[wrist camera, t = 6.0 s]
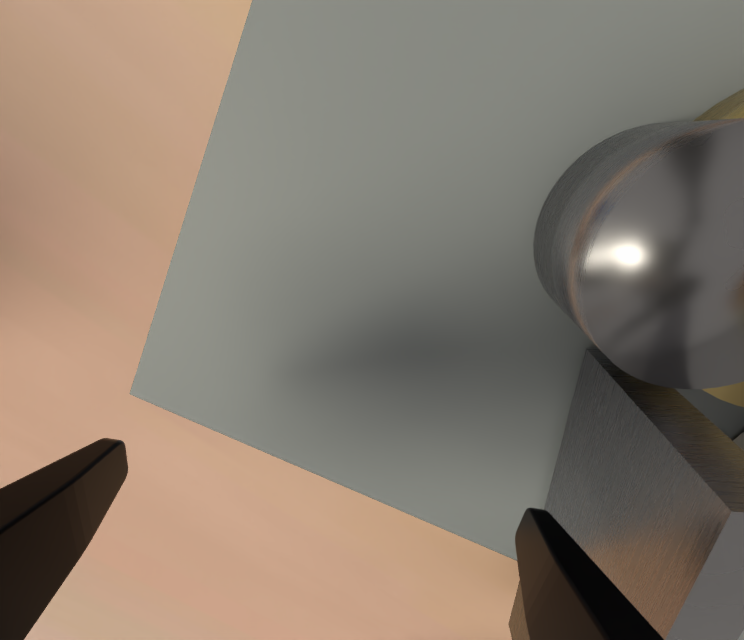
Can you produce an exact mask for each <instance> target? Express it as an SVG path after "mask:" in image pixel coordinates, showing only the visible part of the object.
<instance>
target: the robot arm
mask: <svg viewBox="0 0 744 640" xmlns="http://www.w3.org/2000/svg"><path fill="white" fill-rule="evenodd" d="M127 473H128V463H127V455H126V448H125V444H124V442H123V441H121V440H116V439H109V438H103V439H100V440H98V441H96V442H94V443H92V444H90V445H88V446H86V447H84V448H82V449H80V450H78V451H76V452H74V453H72V454H70V455H68V456H66V457H64V458H62V459H59V460H57V461H55V462H53V463H51V464H49V465H47V466H45V467H43V468H41V469H39V470H37V471H35V472H33V473H31V474H29V475H27V476H25V477H23V478H21V479H19V480H17V481H15V482H13V483H11V484H9V485H7V486H5V487H3V488H1V489H0V640H24V639H25V637H26V636H27V634H28V633H29V631H30V630H31V629H32V627H33V626H34V624H35V623H36V621H37V620H38V618H39V617H40V615H41V614H42V613H43V611H44V610H45V608H46V607H47V605H48V604H49V602H50V601H51V599H52V598H53V597H54V595H55V594H56V592H57V591H58V589H59V588H60V586H61V585H62V583H63V582H64V581H65V579H66V578H67V576H68V575H69V573H70V572H71V570H72V569H73V567H74V566H75V565H76V563H77V562H78V560H79V559H80V557H81V556H82V554H83V553H84V551H85V550H86V548H87V546H88V545H89V543H90V541H91V540H92V538H93V536H94V534H95V533H96V531H97V529H98V527H99V526H100V524H101V522H102V520H103V518H104V517H105V515H106V513H107V511H108V509H109V508H110V506H111V504H112V502H113V500H114V499H115V497H116V495H117V493H118V491H119V490H120V488H121V486H122V484H123V482H124V481H125V479H126V476H127ZM515 546H516V554H517V562H518V569H519V577H520V585H521V592H522V600H523V607H524V614H525V620H526V625H527V629H528V634H529V638H530V640H664V639H663V638H662V637H661V636H660V634H659V633H658V632H657V631H656V630H655V629H654V628H653V627H652V626H651V624H650V623H649V622H648V621H647V620H646V619H645V618H644V617H643V616H642V615H641V613H640V612H639V611H638V610H637V609H636V608H635V607H634V606H633V605H632V603H631V602H630V601H629V600H628V599H627V598H626V597H625V596H624V595H623V594H622V592H621V591H620V590H619V589H618V588H617V587H616V586H615V585H614V584H613V582H612V581H611V580H610V579H609V578H608V577H607V576H606V575H605V574H604V573H603V571H602V570H601V569H600V568H599V567H598V566H597V565H596V564H595V563H594V561H593V560H592V559H591V558H590V557H589V556H588V555H587V554H586V553H585V552H584V550H583V549H582V548H581V547H580V546H579V545H578V544H577V543H576V542H575V540H574V539H573V538H572V537H571V536H570V535H569V534H568V533H567V532H566V531H565V529H564V528H563V527H562V526H561V525H560V524H559V523H558V522H557V521H556V519H555V518H554V517H553V516H552V515H551V514H550V513H549V512H548V511H546V510H543V509H537V508H531V507H530V508H527V509H526V511H525V512H524V515H523V517H522V519H521V521H520V524H519V526H518V528H517V531H516V534H515Z"/></svg>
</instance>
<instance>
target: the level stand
mask: <svg viewBox="0 0 744 640" xmlns="http://www.w3.org/2000/svg"><path fill="white" fill-rule="evenodd" d="M741 89H744V0H252V3H251V7H250V10H249V13H248V16H247V20H246V23H245V26H244V29H243V32H242V36H241V39H240V42H239V45H238V48H237V52H236V55H235V58H234V61H233V64H232V68H231V71H230V74H229V77H228V80H227V84H226V87H225V90H224V93H223V96H222V100H221V103H220V106H219V109H218V112H217V116H216V119H215V122H214V125H213V128H212V132H211V135H210V138H209V141H208V144H207V148H206V151H205V154H204V157H203V160H202V164H201V167H200V170H199V173H198V177H197V180H196V183H195V186H194V189H193V193H192V196H191V199H190V202H189V205H188V209H187V212H186V215H185V218H184V221H183V225H182V228H181V231H180V234H179V237H178V241H177V244H176V247H175V250H174V253H173V257H172V260H171V263H170V266H169V269H168V273H167V276H166V279H165V282H164V285H163V289H162V292H161V295H160V298H159V301H158V305H157V308H156V311H155V314H154V318H153V321H152V324H151V327H150V330H149V334H148V337H147V340H146V343H145V346H144V350H143V353H142V356H141V359H140V362H139V366H138V369H137V372H136V375H135V378H134V382H133V385H132V388H131V391H130V395H133V396H135V397H137V398H140V399H142V400H144V401H147V402H149V403H151V404H154V405H156V406H158V407H161V408H163V409H165V410H168V411H170V412H172V413H175V414H177V415H179V416H182V417H184V418H186V419H189V420H191V421H193V422H196V423H198V424H200V425H203V426H205V427H207V428H210V429H212V430H214V431H217V432H219V433H221V434H223V435H226V436H228V437H230V438H233V439H235V440H237V441H240V442H242V443H244V444H247V445H249V446H251V447H254V448H256V449H258V450H261V451H263V452H265V453H268V454H270V455H272V456H275V457H277V458H279V459H282V460H284V461H286V462H289V463H291V464H293V465H296V466H298V467H300V468H303V469H305V470H307V471H310V472H312V473H314V474H317V475H319V476H321V477H324V478H326V479H328V480H330V481H333V482H335V483H337V484H340V485H342V486H344V487H347V488H349V489H351V490H354V491H356V492H358V493H361V494H363V495H365V496H368V497H370V498H372V499H375V500H377V501H379V502H382V503H384V504H386V505H389V506H391V507H393V508H396V509H398V510H400V511H403V512H405V513H407V514H410V515H412V516H414V517H417V518H419V519H421V520H424V521H426V522H428V523H430V524H433V525H435V526H437V527H440V528H442V529H444V530H447V531H449V532H451V533H454V534H456V535H458V536H461V537H463V538H465V539H468V540H470V541H472V542H475V543H477V544H479V545H482V546H484V547H486V548H489V549H491V550H493V551H496V552H498V553H500V554H503V555H505V556H507V557H510V558H512V559H514V560H517V554H516V546H515V534H516V531H517V528H518V526H519V524H520V521H521V519H522V517H523V515H524V512H525V511H526V509H527V508H530V507H531V508H537V509H543V510H544V507H545V503H546V499H547V495H548V491H549V488H550V484H551V480H552V476H553V472H554V468H555V464H556V461H557V457H558V453H559V449H560V445H561V441H562V438H563V434H564V430H565V426H566V422H567V418H568V414H569V411H570V407H571V403H572V399H573V395H574V391H575V388H576V384H577V380H578V376H579V372H580V368H581V365H582V361H583V357H584V353H585V349H586V348H592V349H599V348H598V347H597V346H596V345H595V344H594V343H593V342H592V341H591V340H590V339H589V338H588V337H587V336H586V335H585V334H584V332H583V331H582V330H581V329H580V328H579V327H578V326H577V325H576V324H575V323H574V322H573V321H572V320H571V319H570V318H569V317H568V316H567V315H566V314H565V313H564V312H563V310H562V309H561V308H560V307H559V306H558V305H557V304H556V303H555V302H554V301H553V300H552V299H551V298H550V296H549V295H548V294H547V292H546V291H545V290H544V288H543V286H542V284H541V282H540V280H539V277H538V274H537V271H536V268H535V262H534V253H533V242H534V233H535V228H536V224H537V220H538V217H539V214H540V212H541V209H542V206H543V204H544V202H545V200H546V198H547V196H548V194H549V193H550V191H551V189H552V188H553V187H554V185H555V184H556V182H557V181H558V179H559V178H560V177H561V176H562V175H563V173H564V172H565V171H566V170H567V169H568V167H570V166H571V165H572V164H573V163H574V162H575V161H576V160H577V159H578V158H579V157H580V156H581V155H583V154H584V153H585V152H587V151H588V150H589V149H591V148H592V147H593V146H595V145H597V144H598V143H600V142H602V141H603V140H605V139H607V138H609V137H611V136H613V135H615V134H618V133H620V132H622V131H625V130H628V129H632V128H635V127H638V126H643V125H649V124H657V123H673V122H689V121H693V120H695V119H696V118H697V117H699V116H700V115H702V114H703V113H704V112H706V111H707V110H708V109H710V108H711V107H713V106H714V105H715V104H717V103H719V102H720V101H722V100H724V99H726V98H727V97H729V96H731V95H732V94H734V93H736V92H738V91H739V90H741ZM675 389H676V388H675ZM676 390H677V391H678V392H679V393H680V394H681V395H682V396H683V397H685V398H686V399H687V400H688V401H689V402H690V403H691V404H692V405H693V406H695V407H696V408H697V409H698V410H699V411H700V412H701V413H702V414H703V415H704V416H706V417H707V418H708V419H709V420H710V421H711V422H712V423H713V424H714V425H716V426H717V427H718V428H719V429H720V430H721V431H722V432H723V433H724V434H725V435H727V436H728V437H729V438H730V439H731V440H732V441H733V440H734V439H735V438H737V437H738V436H739V435H740V434H741V433H742V432H744V407H741V406H737V405H734V404H731V403H729V402H726V401H723V400H720V399H718V398H716V397H715V396H713V395H711V394H709V393H707V392H705V391H704V390H702V389H676ZM738 640H744V631H743V632H742V634H741V635H740V637H739V638H738Z"/></svg>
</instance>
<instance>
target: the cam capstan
mask: <svg viewBox="0 0 744 640" xmlns="http://www.w3.org/2000/svg"><path fill="white" fill-rule="evenodd" d="M533 253H534V262H535V268H536V271H537V274H538V277H539V280H540V282H541V284H542V286H543V288H544V290H545V291H546V292H547V294H548V295H549V296H550V298H551V299H552V300H553V301H554V302H555V303H556V304H557V305H558V306H559V307H560V308H561V309H562V310H563V312H564V313H565V314H566V315H567V316H568V317H569V318H570V319H571V320H572V321H573V322H574V323H575V324H576V325H577V326H578V327H579V328H580V329H581V330H582V331H583V332H584V334H585V335H586V336H587V337H588V338H589V339H590V340H591V341H592V342H593V343H594V344H595V345H596V346H597V347H598V348H599V349H592V348H586V349H585V353H584V357H583V361H582V365H581V368H580V372H579V376H578V380H577V384H576V388H575V391H574V395H573V399H572V403H571V407H570V411H569V414H568V418H567V422H566V426H565V430H564V434H563V438H562V441H561V445H560V449H559V453H558V457H557V461H556V464H555V468H554V472H553V476H552V480H551V484H550V488H549V491H548V495H547V499H546V503H545V507H544V510H546V511H548V512H549V513H550V514H551V515H552V516H553V517H554V518H555V519H556V521H557V522H558V523H559V524H560V525H561V526H562V527H563V528H564V529H565V531H566V532H567V533H568V534H569V535H570V536H571V537H572V538H573V539H574V540H575V542H576V543H577V544H578V545H579V546H580V547H581V548H582V549H583V550H584V552H585V553H586V554H587V555H588V556H589V557H590V558H591V559H592V560H593V561H594V563H595V564H596V565H597V566H598V567H599V568H600V569H601V570H602V571H603V573H604V574H605V575H606V576H607V577H608V578H609V579H610V580H611V581H612V582H613V584H614V585H615V586H616V587H617V588H618V589H619V590H620V591H621V592H622V594H623V595H624V596H625V597H626V598H627V599H628V600H629V601H630V602H631V603H632V605H633V606H634V607H635V608H636V609H637V610H638V611H639V612H640V613H641V615H642V616H643V617H644V618H645V619H646V620H647V621H648V622H649V623H650V624H651V626H652V627H653V628H654V629H655V630H656V631H657V632H658V633H659V634H660V636H661V637H662V638H663V639H664V640H738V638H739V637H740V635H741V634H742V632H743V631H744V451H743V450H742V449H741V448H740V447H739V446H738V445H737V444H735V443H734V442H733V441H732V440H731V439H730V438H729V437H728V436H727V435H725V434H724V433H723V432H722V431H721V430H720V429H719V428H718V427H717V426H716V425H714V424H713V423H712V422H711V421H710V420H709V419H708V418H707V417H706V416H704V415H703V414H702V413H701V412H700V411H699V410H698V409H697V408H696V407H695V406H693V405H692V404H691V403H690V402H689V401H688V400H687V399H686V398H685V397H683V396H682V395H681V394H680V393H679V392H678V391H677V390H676V389H702V390H704V391H705V392H707V393H709V394H711V395H713V396H715V397H716V398H718V399H720V400H723V401H726V402H729V403H731V404H734V405H737V406H741V407H744V89H741V90H739V91H738V92H736V93H734V94H732V95H731V96H729V97H727V98H726V99H724V100H722V101H720V102H719V103H717V104H715V105H714V106H713V107H711V108H710V109H708V110H707V111H706V112H704V113H703V114H702V115H700V116H699V117H697V118H696V119H695V120H693V121H689V122H673V123H657V124H649V125H643V126H638V127H635V128H632V129H628V130H625V131H622V132H620V133H618V134H615V135H613V136H611V137H609V138H607V139H605V140H603V141H602V142H600V143H598V144H597V145H595V146H593V147H592V148H591V149H589V150H588V151H587V152H585V153H584V154H583V155H581V156H580V157H579V158H578V159H577V160H576V161H575V162H574V163H573V164H572V165H571V166H570V167H568V169H567V170H566V171H565V172H564V173H563V175H562V176H561V177H560V178H559V179H558V181H557V182H556V184H555V185H554V187H553V188H552V189H551V191H550V193H549V194H548V196H547V198H546V200H545V202H544V204H543V206H542V209H541V212H540V214H539V217H538V220H537V224H536V228H535V233H534V242H533ZM675 388H676V389H675ZM509 628H510V632H511V636H512V640H530V638H529V634H528V629H527V625H526V620H525V614H524V607H523V600H522V592H521V585H520V581H519V585H518V589H517V593H516V597H515V601H514V605H513V609H512V613H511V617H510V621H509Z"/></svg>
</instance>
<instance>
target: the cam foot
mask: <svg viewBox="0 0 744 640" xmlns="http://www.w3.org/2000/svg"><path fill="white" fill-rule="evenodd" d="M733 442H734V443H735V444H737V445H738V446H739V447H740V448H741V449H742V450H743V451H744V432H742V433H741V434H740V435H739V436H738V437H737V438H735V439H734V440H733Z"/></svg>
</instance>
